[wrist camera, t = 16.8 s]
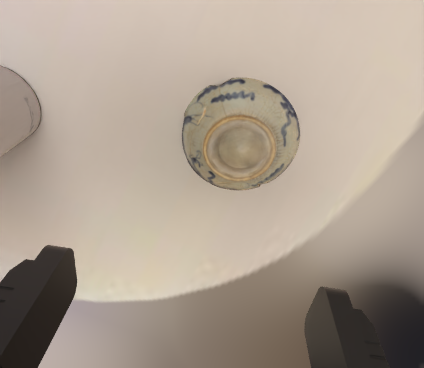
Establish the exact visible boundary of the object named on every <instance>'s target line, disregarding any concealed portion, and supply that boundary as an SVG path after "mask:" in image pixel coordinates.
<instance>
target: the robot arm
mask: <svg viewBox="0 0 424 368" xmlns="http://www.w3.org/2000/svg"><path fill="white" fill-rule="evenodd" d="M40 118H41V112H40V106H39V102H38V100H37V98H36V95H35V93H34V92H33V90H32V89H31V87H30V86H29V85H28V84H27V83H26V82H25V81H24V80H23V79H22V78H21V77H20V76H18V75H17V74H16V73H14V72H12V71H11V70H9V69H7V68H4V67H2V66H0V157H1V156H3V155H4V154H5V153H7V152H8V151H9V150H11V149H12V148H13V147H15V146H16V145H18V144H19V143H20V142H21V141H23V140H24V139H25V138H27V137H28V136H29V135H31V134H32V133H33V132H34V131H35V130H36V129H37V127H38V125H39V122H40ZM76 287H77V276H76V267H75V259H74V252H73V250H72V249H71V248H64V247H58V246H51V245H47V246H45V247H44V248H43V249H42V251H41V252H40V254H39V255H38V256H37V258H36V259H35V260H27V259H26V260H24V261H23V262H21V263H20V264H18V265H17V266H16V267H14V268H13V269H11V270H10V271H9V272H8V273H7V274H6V276H5V277H4V278H3V280H2V281H1V282H0V368H38V366H39V364H40V362H41V360H42V358H43V356H44V354H45V352H46V351H47V349H48V347H49V345H50V343H51V341H52V339H53V337H54V335H55V333H56V331H57V329H58V327H59V325H60V323H61V321H62V319H63V318H64V315H65V314H66V311H67V310H68V308H69V306H70V304H71V302H72V300H73V298H74V295H75V292H76ZM305 337H306V342H307V348H308V353H309V359H310V364H311V368H390V367H389V364H388V362H387V361H386V359H385V354H384V352H383V349H382V347H381V346H380V341H379V339H378V336H377V333H376V331H375V328H374V326H373V324H372V323H371V322H370V321H369V319H368V318H367V317H366V315H365V314H364V313H363V311H362V310H358V309H353V307H352V304H351V301H350V298H349V295H348V293H347V292H346V291H345V290H341V289H334V288H328V287H320V288H319V289H318V292H317V294H316V296H315V298H314V300H313V303H312V304H311V307H310V309H309V311H308V313H307V316H306V319H305Z"/></svg>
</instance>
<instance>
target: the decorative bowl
mask: <svg viewBox="0 0 424 368" xmlns="http://www.w3.org/2000/svg"><path fill="white" fill-rule="evenodd" d="M184 116H185V118H184V123H183V130H182V142H183V149H184V152H185V155H186V157H187V160H188V162H189V164H190V166H191V167H192V168H193V170H194V171H195V172H196V173H197V174H198V175H199V176H200V177H201V178H203V179H204V180H206V181H208V182H210V183H211V184H212V185H215V186H217V187H221V188H225V189H230V190H247V189H253V188H256V187H260V185H259V184H264V183H268V182H270V181H272V180H273V179H275V178H276V177H278V176H279V175H280V174H281V173H282V172H283V171H284V170H285V169H286V168H287V167H288V166H289V165H290V163H291V162H292V160H293V158H294V157H295V155H296V152H297V149H298V146H299V140H300V127H299V122H298V118H297V115H296V113H295V110H294V108H293V107H292V105H291V104H290V102H289V101H288V100H287V98H286V97H285V96H284V95H283V94H282V93H281V92H279V91H278V90H277V89H275V88H274V87H272V86H271V85H269V84H267V83H264V82H262V81H259V80H255V79H250V78H232V79H230V80H229V81H227V82H226V83H223V85H220V86H212V85H210V86H208V87H206V88H205V89H203V90H202V91H201V92H199V93H198V94H197V95H196V96H195V98H194V99H193V100H192V101H191V103H190V104H189V106H188V107H187V109H186V111H185V115H184Z"/></svg>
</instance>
